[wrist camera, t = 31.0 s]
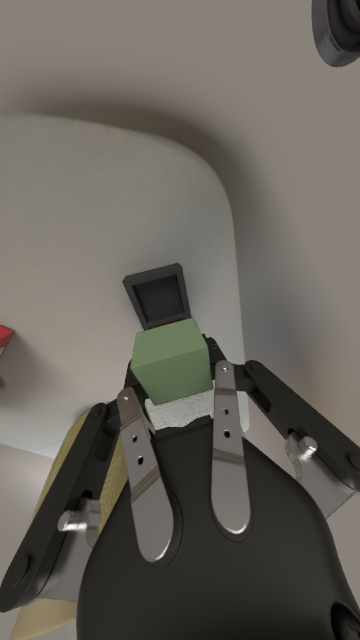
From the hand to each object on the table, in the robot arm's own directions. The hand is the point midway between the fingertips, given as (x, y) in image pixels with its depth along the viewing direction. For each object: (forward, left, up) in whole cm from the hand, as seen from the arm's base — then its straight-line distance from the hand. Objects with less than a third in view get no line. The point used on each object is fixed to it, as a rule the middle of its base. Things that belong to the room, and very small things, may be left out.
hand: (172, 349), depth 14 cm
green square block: (0, 0, 0) cm, 0 cm away
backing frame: (0, +3, -14) cm, 14 cm away
